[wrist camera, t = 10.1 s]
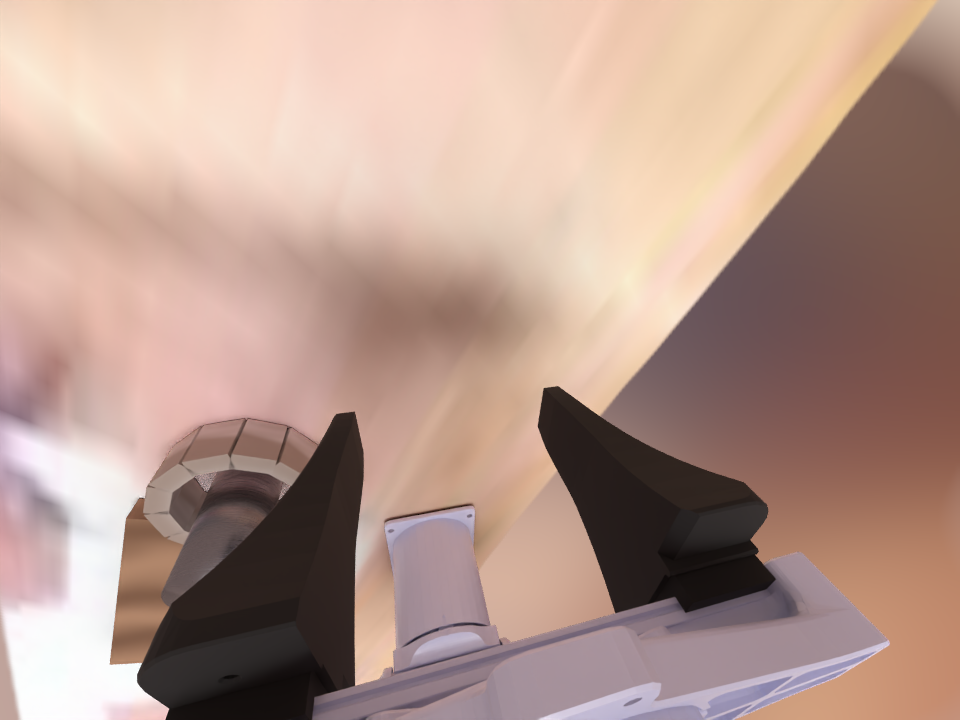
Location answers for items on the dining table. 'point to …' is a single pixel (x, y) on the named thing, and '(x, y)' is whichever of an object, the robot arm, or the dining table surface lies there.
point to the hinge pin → (221, 525)
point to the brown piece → (188, 515)
